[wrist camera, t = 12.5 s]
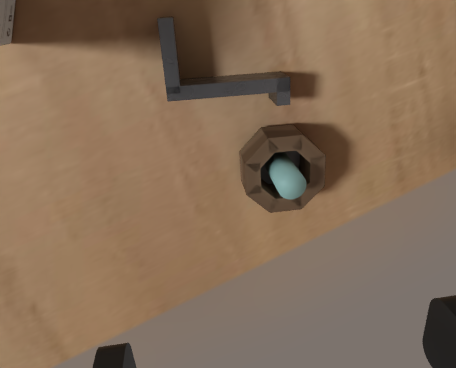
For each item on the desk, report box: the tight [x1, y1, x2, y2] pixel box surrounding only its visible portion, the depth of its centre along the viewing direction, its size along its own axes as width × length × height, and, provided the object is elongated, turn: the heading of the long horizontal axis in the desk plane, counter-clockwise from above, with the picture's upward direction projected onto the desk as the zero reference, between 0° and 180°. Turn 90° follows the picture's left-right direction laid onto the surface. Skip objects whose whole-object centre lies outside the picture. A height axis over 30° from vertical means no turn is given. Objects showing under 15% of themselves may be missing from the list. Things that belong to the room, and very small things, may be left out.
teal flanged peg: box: [260, 151, 306, 199], centre depth 31 cm, size 5×5×6 cm
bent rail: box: [157, 17, 290, 106], centre depth 29 cm, size 6×9×3 cm
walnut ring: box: [240, 124, 326, 213], centre depth 32 cm, size 6×6×3 cm
